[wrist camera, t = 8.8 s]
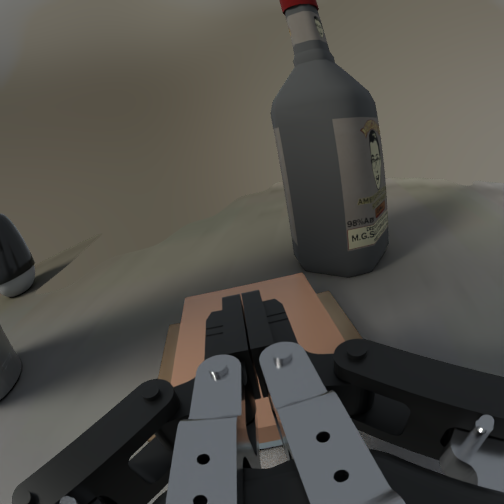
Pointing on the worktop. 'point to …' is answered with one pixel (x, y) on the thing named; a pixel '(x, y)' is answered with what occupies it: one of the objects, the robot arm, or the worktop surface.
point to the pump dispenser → (14, 260)
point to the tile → (282, 289)
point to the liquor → (329, 156)
